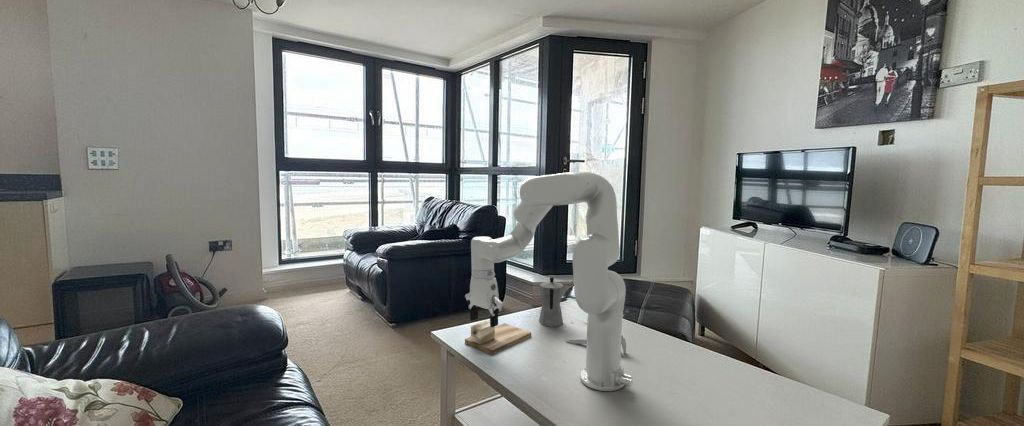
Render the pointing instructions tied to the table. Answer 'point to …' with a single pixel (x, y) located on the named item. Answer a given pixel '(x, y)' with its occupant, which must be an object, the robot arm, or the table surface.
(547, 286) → the coffeepot
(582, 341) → the caliper
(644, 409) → the table surface
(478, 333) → the beige block with knob
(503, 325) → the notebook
